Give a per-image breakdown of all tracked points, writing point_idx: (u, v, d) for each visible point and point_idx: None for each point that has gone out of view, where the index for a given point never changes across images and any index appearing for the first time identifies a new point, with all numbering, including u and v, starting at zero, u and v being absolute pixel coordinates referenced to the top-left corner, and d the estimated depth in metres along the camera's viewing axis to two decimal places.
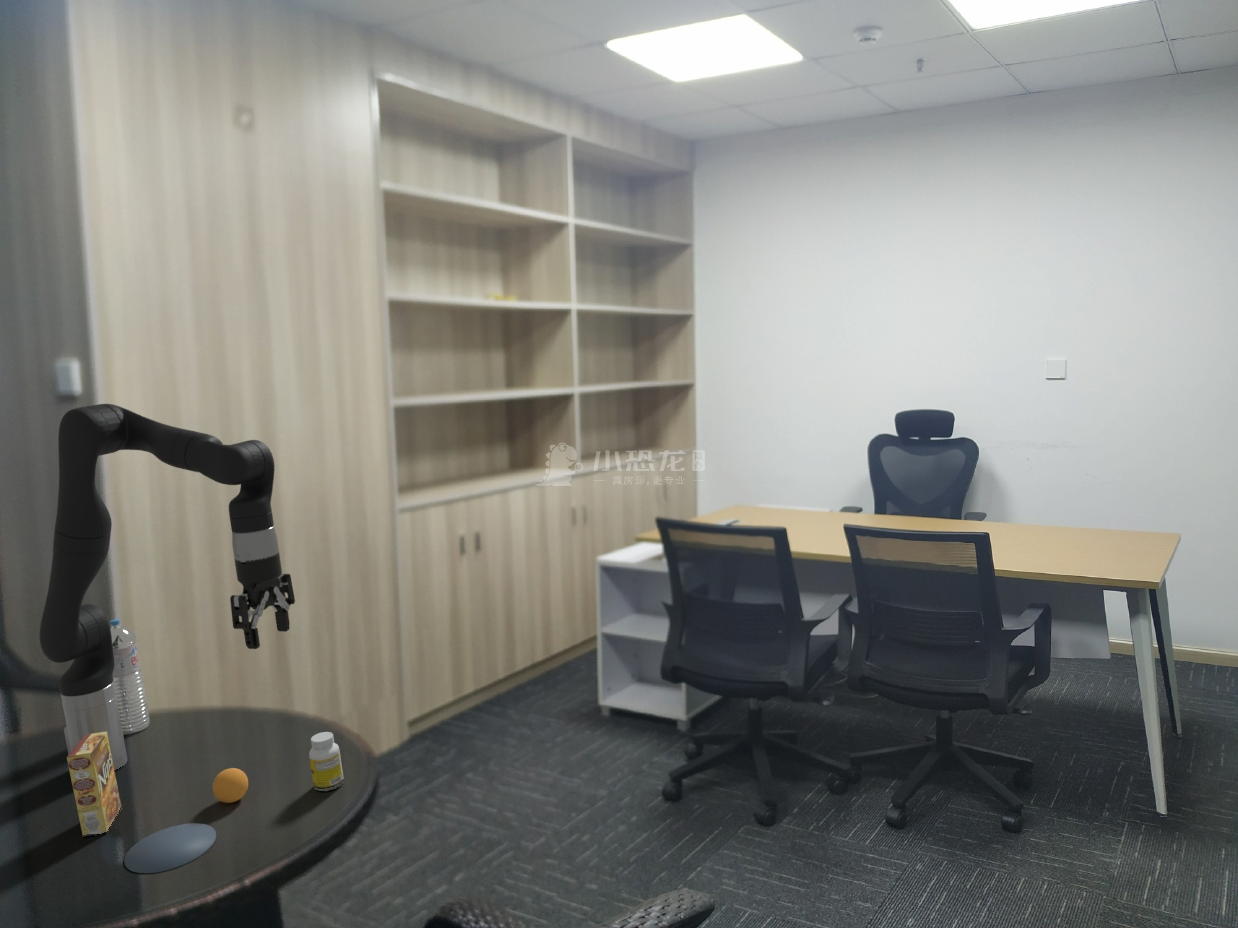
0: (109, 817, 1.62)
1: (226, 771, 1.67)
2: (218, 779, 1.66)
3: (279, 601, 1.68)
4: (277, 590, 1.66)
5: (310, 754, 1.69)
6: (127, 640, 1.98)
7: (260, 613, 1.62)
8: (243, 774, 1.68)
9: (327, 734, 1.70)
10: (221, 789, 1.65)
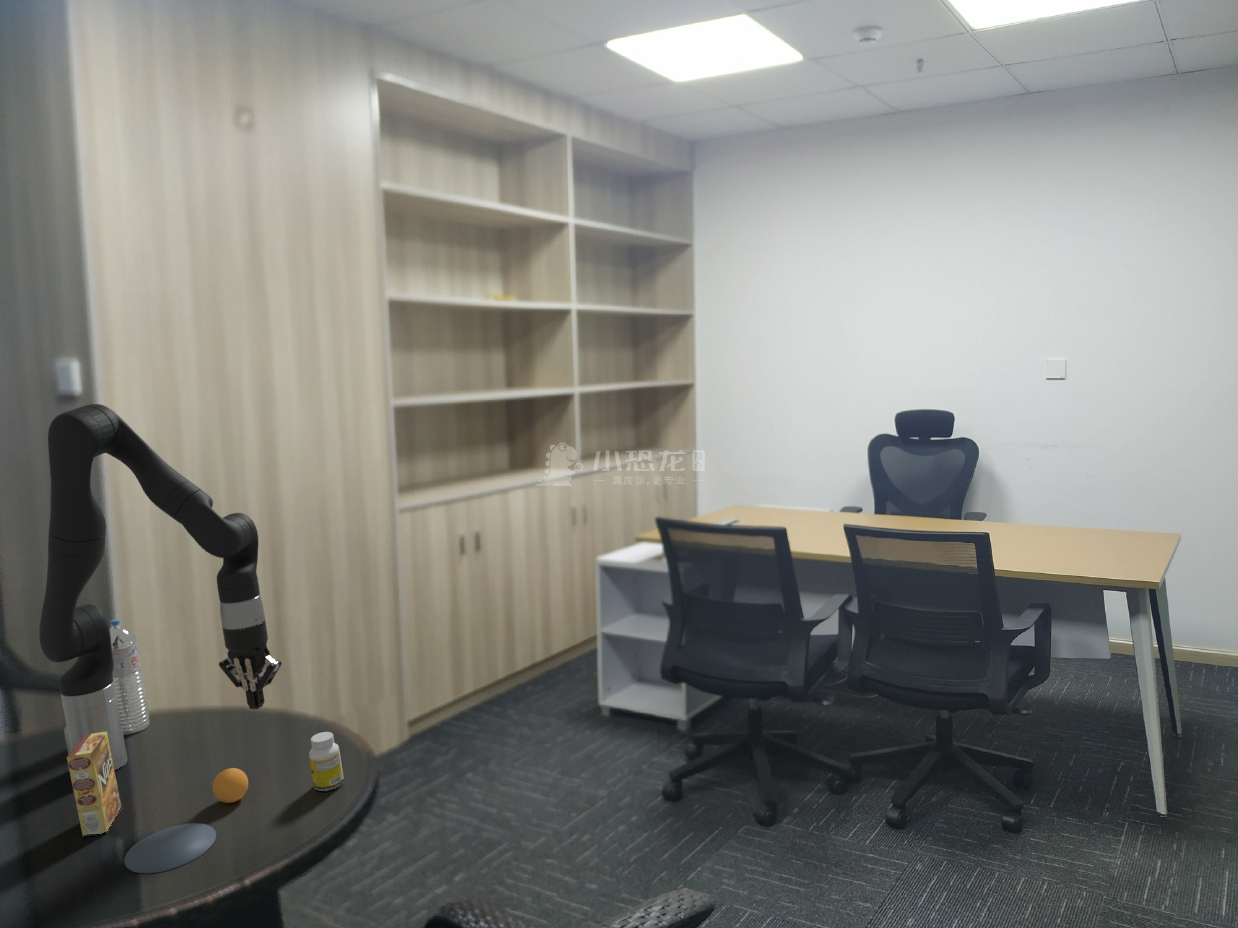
0: (109, 817, 1.62)
1: (226, 771, 1.67)
2: (218, 779, 1.66)
3: None
4: None
5: (310, 754, 1.69)
6: (127, 640, 1.98)
7: None
8: (243, 774, 1.68)
9: (327, 734, 1.70)
10: (221, 789, 1.65)
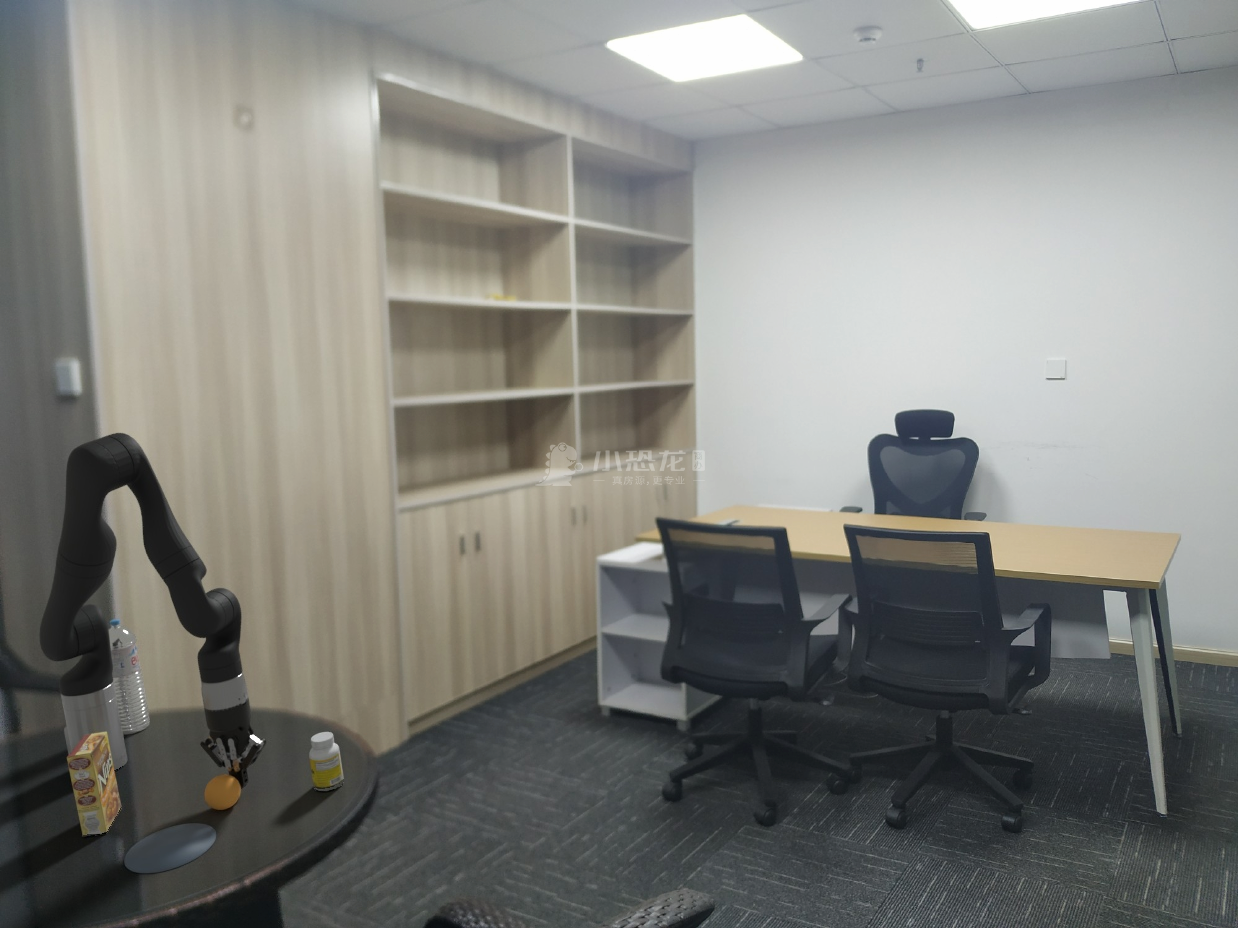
0: (109, 817, 1.62)
1: (214, 784, 1.64)
2: (208, 794, 1.63)
3: None
4: None
5: (310, 754, 1.69)
6: (127, 640, 1.98)
7: None
8: (232, 782, 1.65)
9: (327, 734, 1.70)
10: (214, 804, 1.63)
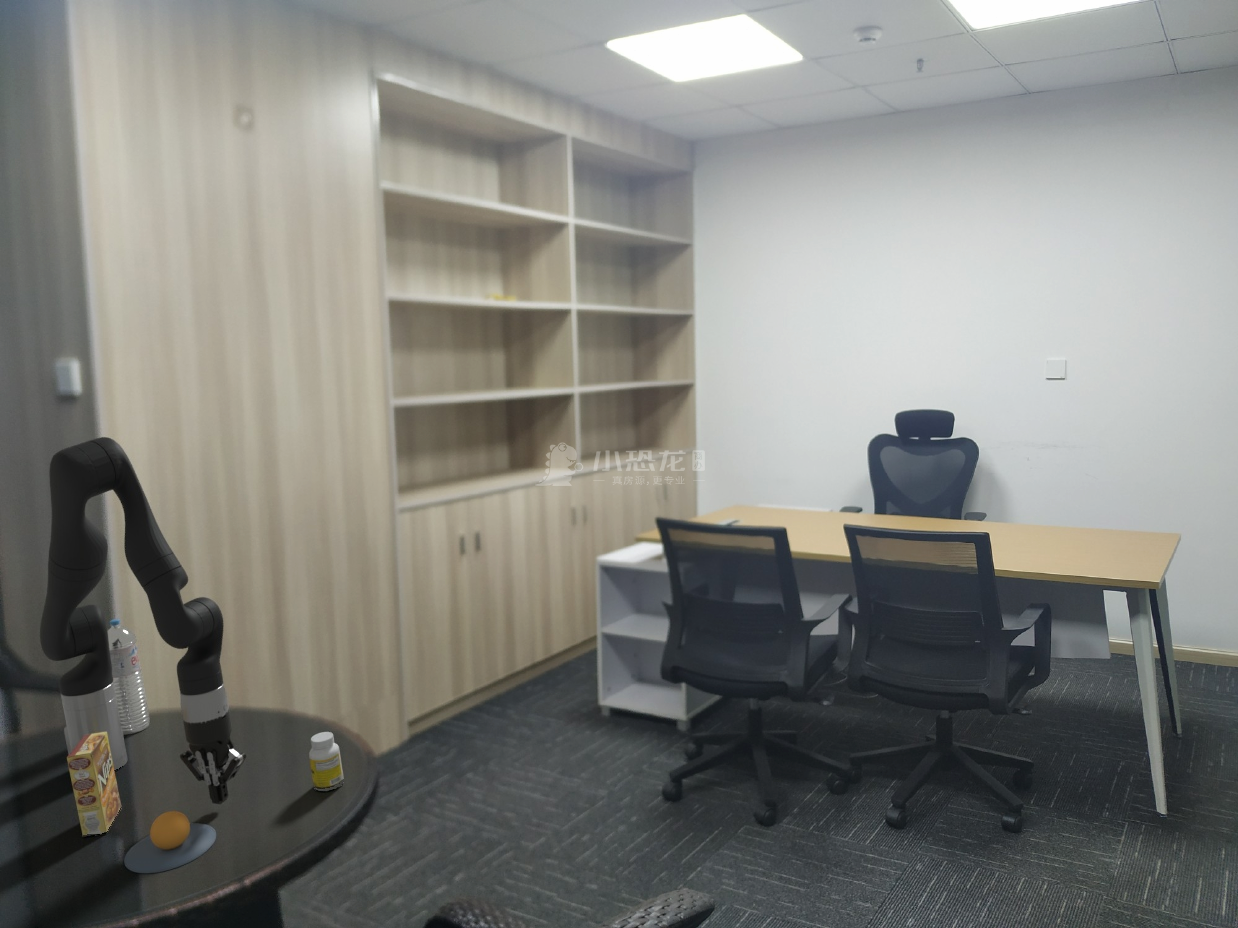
0: (109, 817, 1.62)
1: None
2: None
3: None
4: None
5: (310, 754, 1.69)
6: (127, 640, 1.98)
7: None
8: (186, 837, 1.54)
9: (327, 734, 1.70)
10: None
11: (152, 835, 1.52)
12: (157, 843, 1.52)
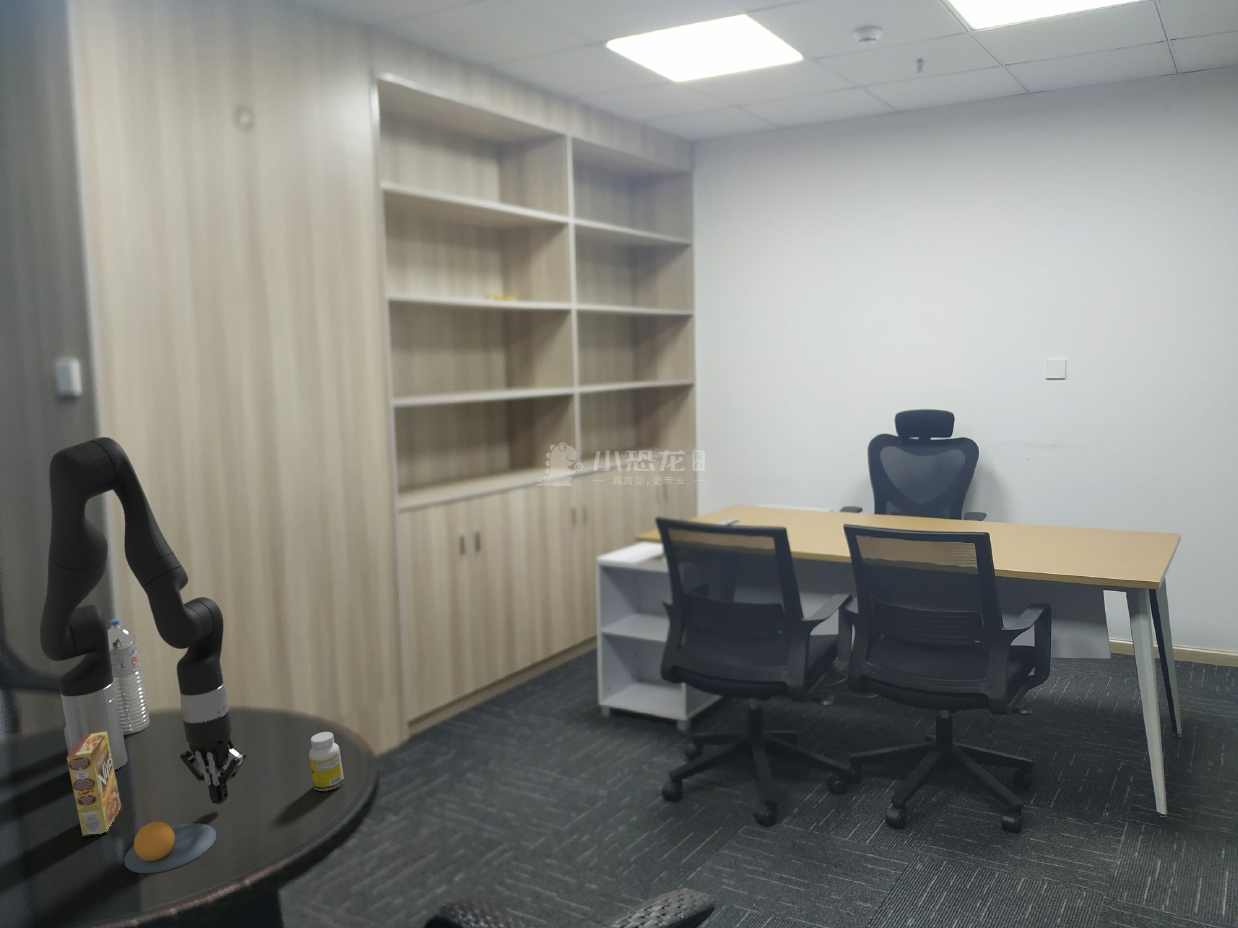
0: (109, 817, 1.62)
1: (163, 822, 1.53)
2: None
3: None
4: None
5: (310, 754, 1.69)
6: (127, 640, 1.98)
7: None
8: (174, 836, 1.52)
9: (327, 734, 1.70)
10: (148, 830, 1.49)
11: (143, 859, 1.50)
12: None
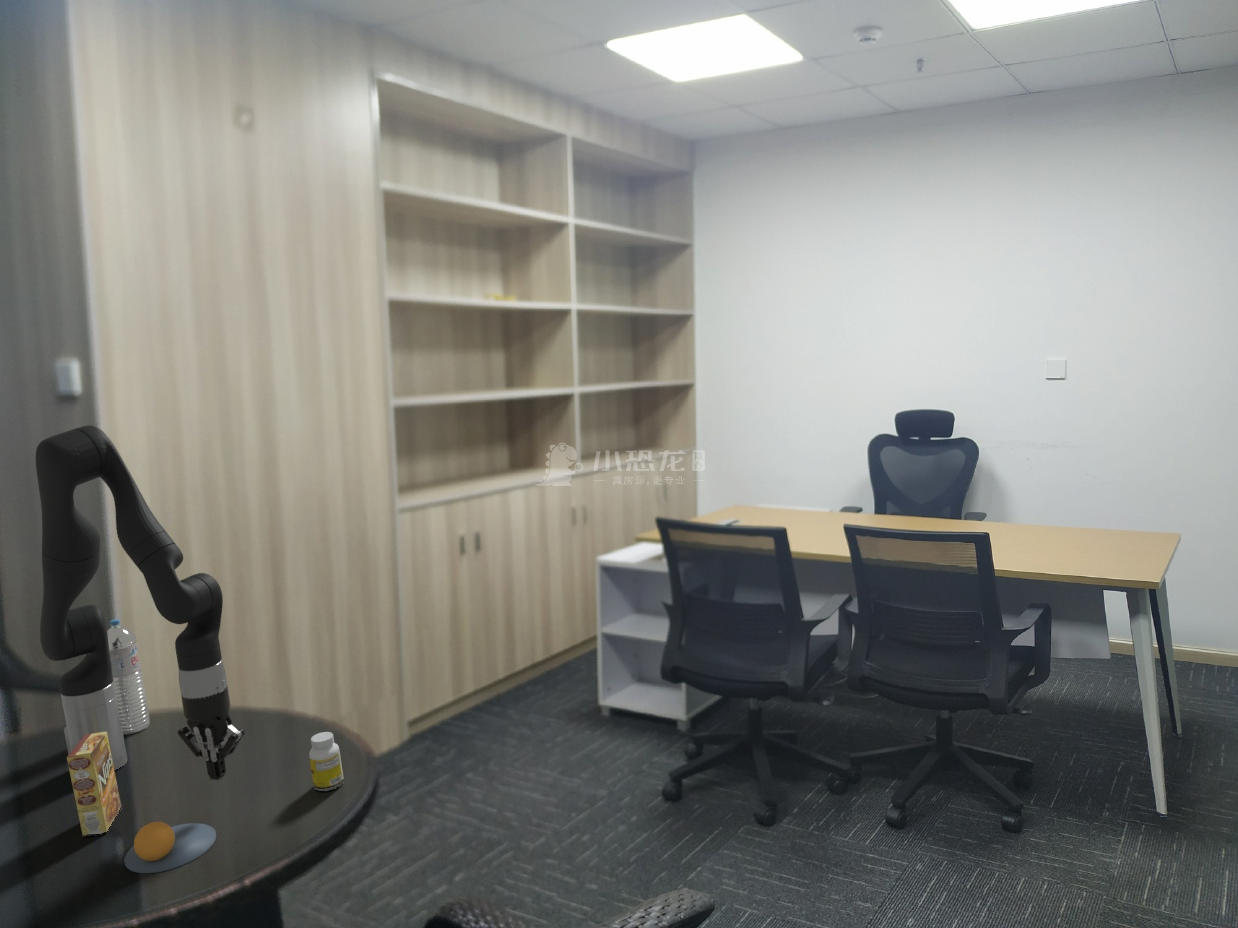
0: (109, 817, 1.62)
1: (162, 822, 1.53)
2: None
3: None
4: None
5: (310, 754, 1.69)
6: (127, 640, 1.98)
7: None
8: (174, 836, 1.52)
9: (327, 734, 1.70)
10: (148, 830, 1.49)
11: None
12: None
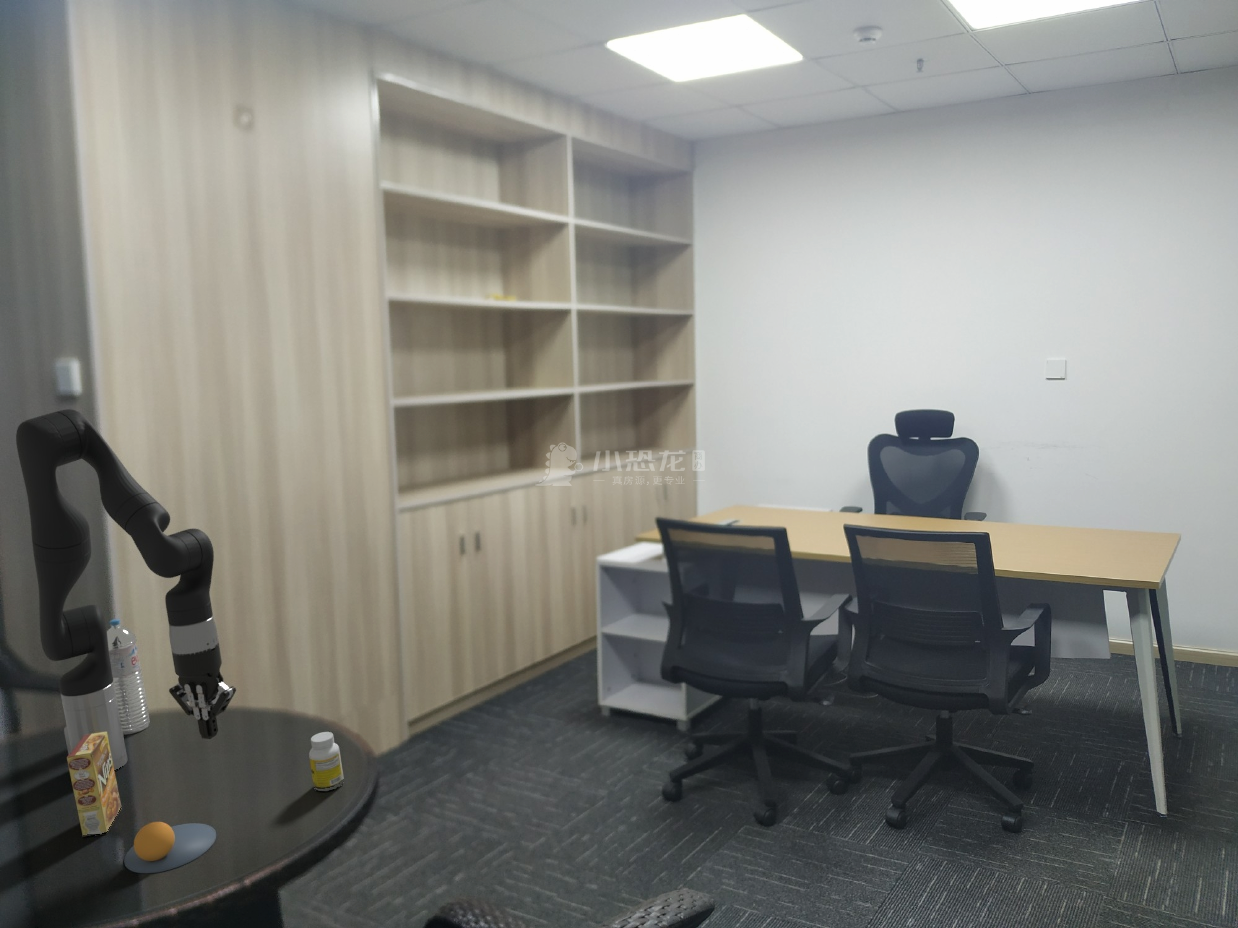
0: (109, 817, 1.62)
1: (162, 822, 1.53)
2: None
3: None
4: None
5: (310, 754, 1.69)
6: (127, 640, 1.98)
7: None
8: (174, 836, 1.52)
9: (327, 734, 1.70)
10: (148, 830, 1.49)
11: None
12: None
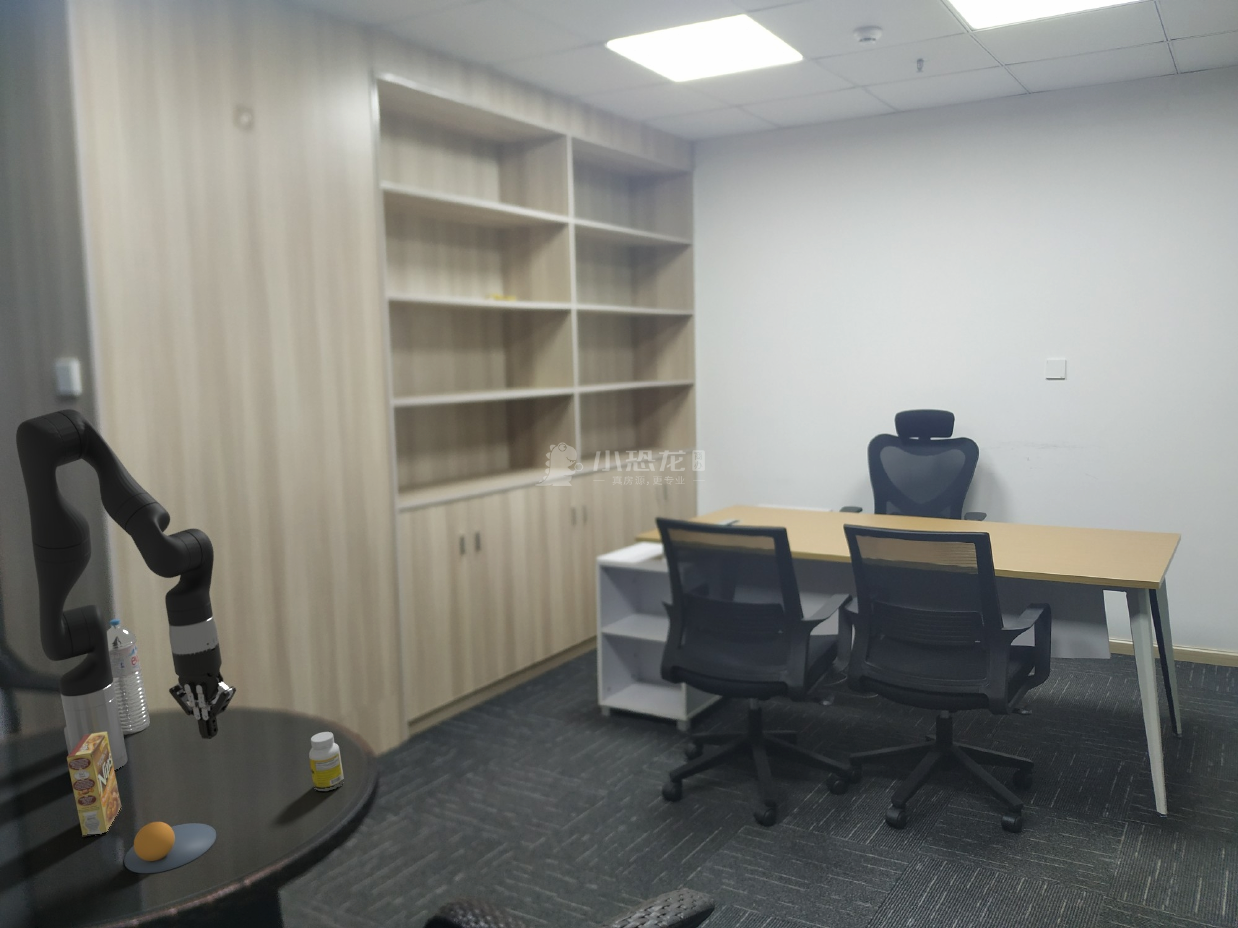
0: (109, 817, 1.62)
1: (162, 822, 1.53)
2: None
3: None
4: None
5: (310, 754, 1.69)
6: (127, 640, 1.98)
7: None
8: (174, 836, 1.52)
9: (327, 734, 1.70)
10: (148, 830, 1.49)
11: None
12: None
